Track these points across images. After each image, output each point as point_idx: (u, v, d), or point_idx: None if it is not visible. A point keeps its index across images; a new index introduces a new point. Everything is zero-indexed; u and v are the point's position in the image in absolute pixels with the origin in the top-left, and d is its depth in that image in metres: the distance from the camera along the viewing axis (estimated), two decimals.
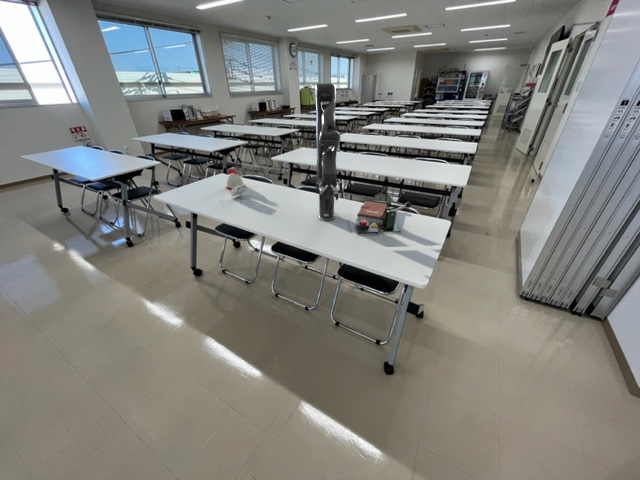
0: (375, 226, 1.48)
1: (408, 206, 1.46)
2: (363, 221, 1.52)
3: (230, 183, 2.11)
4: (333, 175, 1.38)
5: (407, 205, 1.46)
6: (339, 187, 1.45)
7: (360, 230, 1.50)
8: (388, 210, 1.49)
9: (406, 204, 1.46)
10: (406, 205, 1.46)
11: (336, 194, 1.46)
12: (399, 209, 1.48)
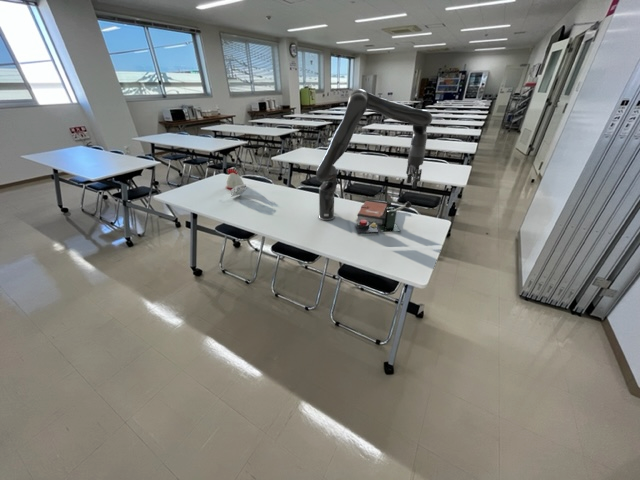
0: (375, 226, 1.48)
1: (408, 206, 1.46)
2: (363, 221, 1.52)
3: (230, 183, 2.11)
4: (411, 158, 1.32)
5: (407, 205, 1.46)
6: None
7: (360, 230, 1.50)
8: (388, 210, 1.49)
9: (406, 204, 1.46)
10: (406, 205, 1.46)
11: (413, 181, 1.36)
12: (399, 209, 1.48)
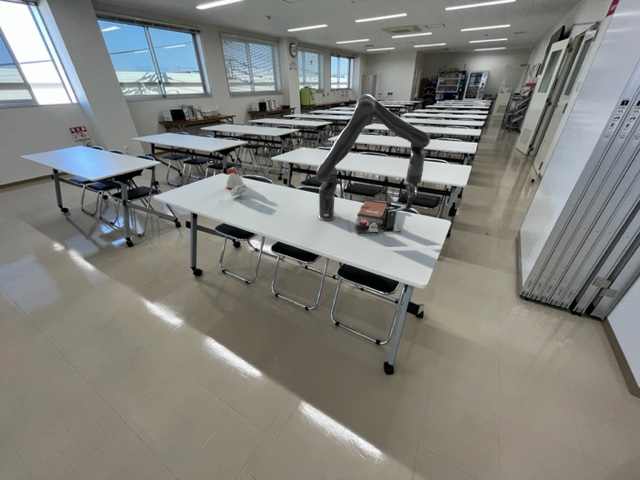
0: (375, 226, 1.48)
1: (408, 207, 1.46)
2: (363, 221, 1.52)
3: (230, 183, 2.11)
4: (409, 176, 1.37)
5: (407, 206, 1.46)
6: None
7: (360, 230, 1.50)
8: (388, 210, 1.49)
9: (407, 205, 1.47)
10: (406, 206, 1.47)
11: (408, 197, 1.45)
12: (399, 210, 1.48)
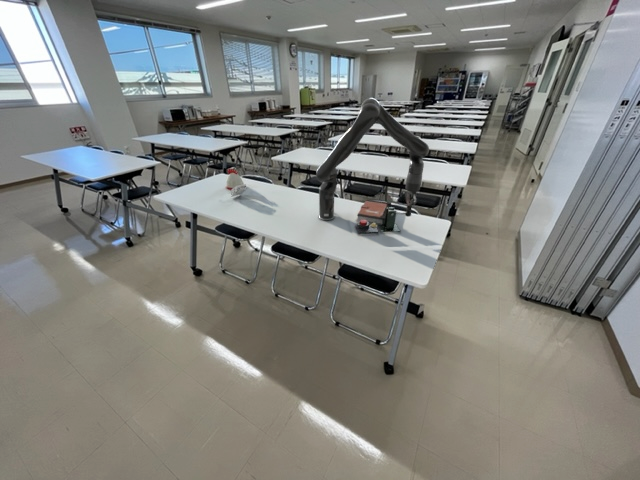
0: (375, 226, 1.48)
1: (408, 214, 1.49)
2: (363, 221, 1.52)
3: (230, 183, 2.11)
4: (409, 184, 1.39)
5: (408, 213, 1.48)
6: None
7: (360, 230, 1.50)
8: (389, 209, 1.49)
9: (407, 212, 1.49)
10: (407, 213, 1.49)
11: (407, 205, 1.47)
12: (399, 213, 1.49)
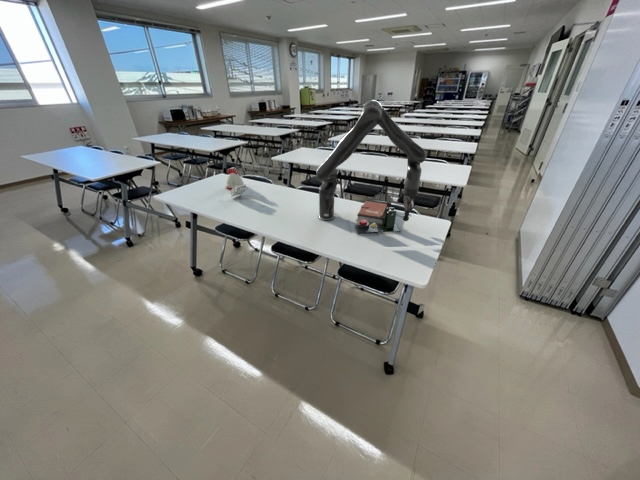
0: (375, 226, 1.48)
1: (406, 219, 1.50)
2: (363, 221, 1.52)
3: (230, 183, 2.11)
4: (406, 189, 1.41)
5: (406, 218, 1.50)
6: None
7: (360, 230, 1.50)
8: (390, 209, 1.49)
9: (406, 216, 1.50)
10: (405, 217, 1.50)
11: (405, 210, 1.48)
12: (398, 215, 1.50)
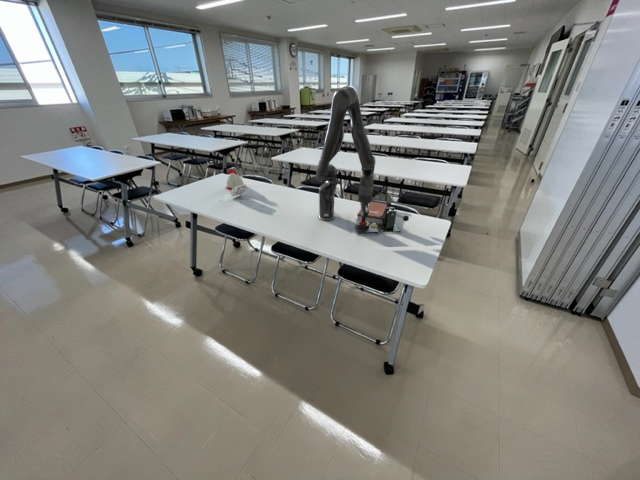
0: (375, 226, 1.48)
1: (406, 219, 1.50)
2: None
3: (230, 183, 2.11)
4: (360, 196, 1.42)
5: (406, 218, 1.50)
6: None
7: (360, 230, 1.50)
8: (390, 209, 1.49)
9: (406, 216, 1.50)
10: (405, 217, 1.50)
11: None
12: (398, 215, 1.50)
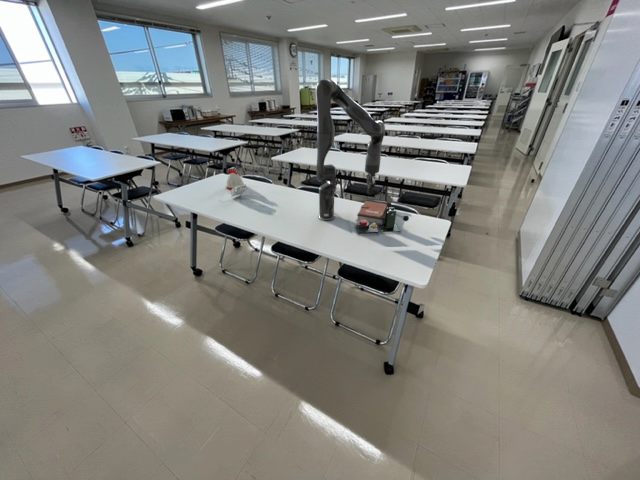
0: (375, 226, 1.48)
1: (406, 219, 1.50)
2: (363, 221, 1.52)
3: (230, 183, 2.11)
4: (367, 166, 1.37)
5: (406, 218, 1.50)
6: None
7: (360, 230, 1.50)
8: (390, 209, 1.49)
9: (406, 216, 1.50)
10: (405, 217, 1.50)
11: (368, 188, 1.45)
12: (398, 215, 1.50)
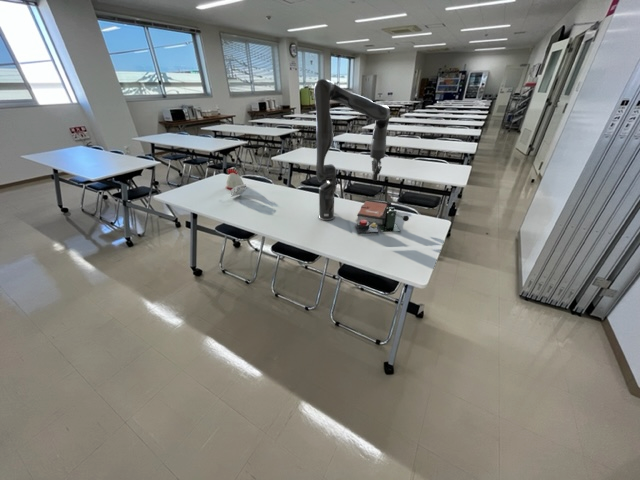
0: (375, 226, 1.48)
1: (406, 219, 1.50)
2: (363, 221, 1.52)
3: (230, 183, 2.11)
4: (373, 151, 1.37)
5: (406, 218, 1.50)
6: None
7: (360, 230, 1.50)
8: (390, 209, 1.49)
9: (406, 216, 1.50)
10: (405, 217, 1.50)
11: (373, 174, 1.45)
12: (398, 215, 1.50)
